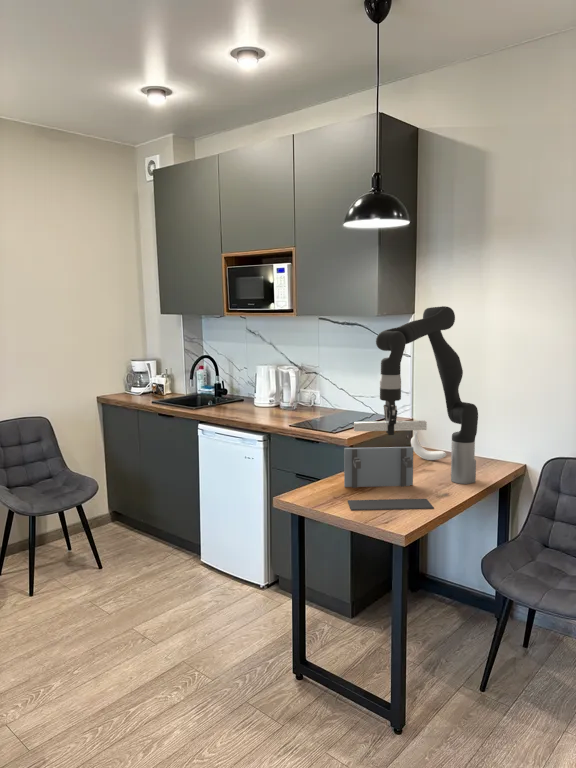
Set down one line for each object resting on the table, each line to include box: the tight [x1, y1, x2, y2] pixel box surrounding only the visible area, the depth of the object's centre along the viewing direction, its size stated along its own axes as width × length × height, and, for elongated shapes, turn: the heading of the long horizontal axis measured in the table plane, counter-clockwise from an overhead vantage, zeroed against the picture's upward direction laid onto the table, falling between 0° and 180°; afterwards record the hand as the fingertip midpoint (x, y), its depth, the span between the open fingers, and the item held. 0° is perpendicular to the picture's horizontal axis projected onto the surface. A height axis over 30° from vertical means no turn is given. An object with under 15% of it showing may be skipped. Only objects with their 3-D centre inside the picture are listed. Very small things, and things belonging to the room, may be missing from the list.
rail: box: [353, 420, 428, 432], centre depth 208 cm, size 26×2×3 cm, turn 91°
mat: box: [347, 498, 435, 511], centre depth 212 cm, size 30×10×1 cm, turn 91°
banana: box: [410, 430, 447, 461], centre depth 274 cm, size 5×19×15 cm, turn 49°
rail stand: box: [343, 446, 414, 489], centre depth 228 cm, size 28×13×16 cm, turn 91°
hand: (390, 433), depth 209 cm, fingers closed on rail, 2 cm apart
